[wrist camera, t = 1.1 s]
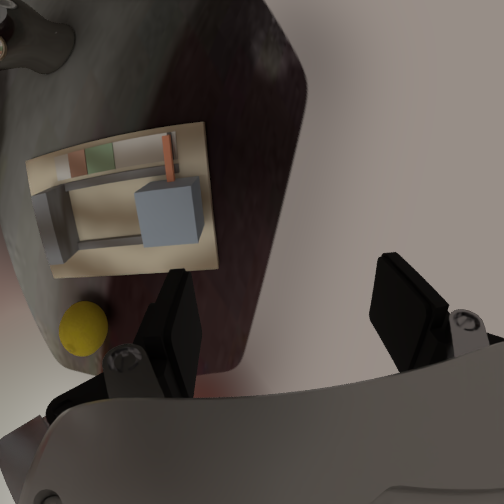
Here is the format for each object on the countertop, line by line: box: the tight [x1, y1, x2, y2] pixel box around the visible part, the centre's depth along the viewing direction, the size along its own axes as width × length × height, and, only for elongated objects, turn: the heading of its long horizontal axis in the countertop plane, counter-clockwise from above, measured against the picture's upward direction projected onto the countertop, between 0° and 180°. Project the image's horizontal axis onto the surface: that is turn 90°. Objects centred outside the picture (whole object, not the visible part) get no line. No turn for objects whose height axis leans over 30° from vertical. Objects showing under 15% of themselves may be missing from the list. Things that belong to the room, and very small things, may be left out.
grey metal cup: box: [0, 0, 75, 74], centre depth 12 cm, size 7×7×15 cm
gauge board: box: [26, 122, 219, 278], centre depth 25 cm, size 14×20×5 cm
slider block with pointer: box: [134, 135, 205, 248], centre depth 23 cm, size 8×4×4 cm, turn 4°
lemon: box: [59, 301, 108, 356], centre depth 28 cm, size 6×6×8 cm
